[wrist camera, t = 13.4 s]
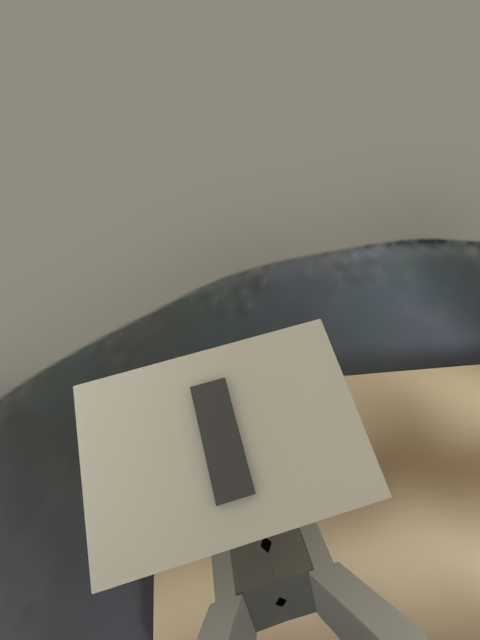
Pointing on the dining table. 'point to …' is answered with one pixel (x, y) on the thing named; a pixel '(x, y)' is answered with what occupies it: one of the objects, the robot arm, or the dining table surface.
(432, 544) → the digit board
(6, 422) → the dining table surface
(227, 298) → the dining table surface
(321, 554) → the robot arm
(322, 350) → the tile one
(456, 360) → the dining table surface
